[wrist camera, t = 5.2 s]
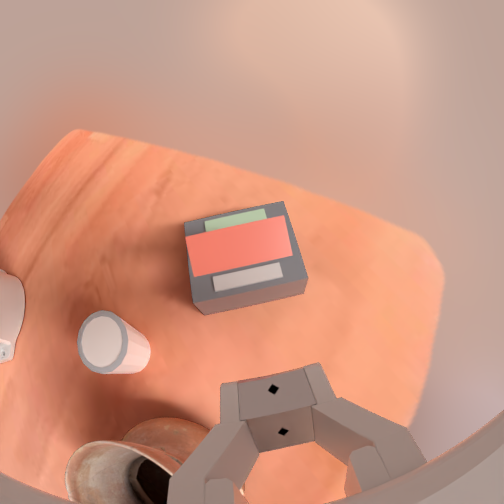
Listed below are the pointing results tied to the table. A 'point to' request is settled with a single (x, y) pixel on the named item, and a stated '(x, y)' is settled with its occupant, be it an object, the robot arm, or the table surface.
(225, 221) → the switch box
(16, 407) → the table surface
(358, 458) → the robot arm
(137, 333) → the shot glass
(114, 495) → the ceramic jug
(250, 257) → the lever
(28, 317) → the table surface
